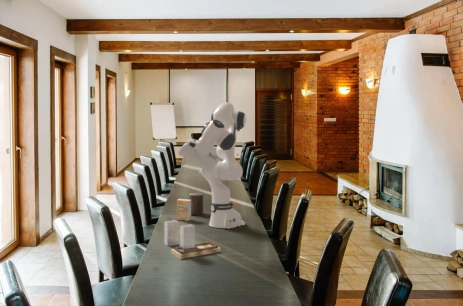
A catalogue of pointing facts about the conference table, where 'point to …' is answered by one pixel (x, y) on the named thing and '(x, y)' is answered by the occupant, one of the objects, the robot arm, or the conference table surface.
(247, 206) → the conference table surface
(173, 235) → the aluminium billet
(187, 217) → the supplement box
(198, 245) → the wooden compartment tray
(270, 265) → the conference table surface
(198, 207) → the pillar candle
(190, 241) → the billet
